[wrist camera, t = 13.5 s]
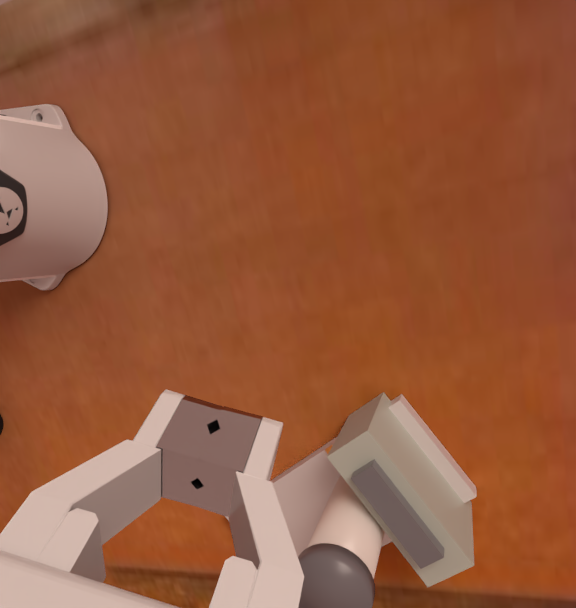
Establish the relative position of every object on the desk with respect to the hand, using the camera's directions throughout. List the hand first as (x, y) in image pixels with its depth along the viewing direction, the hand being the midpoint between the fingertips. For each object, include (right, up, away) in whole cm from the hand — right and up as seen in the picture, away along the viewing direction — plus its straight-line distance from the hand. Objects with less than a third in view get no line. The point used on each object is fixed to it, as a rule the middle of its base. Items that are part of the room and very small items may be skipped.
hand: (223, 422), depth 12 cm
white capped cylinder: (+8, -14, +31) cm, 35 cm away
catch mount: (+7, -15, +34) cm, 38 cm away
